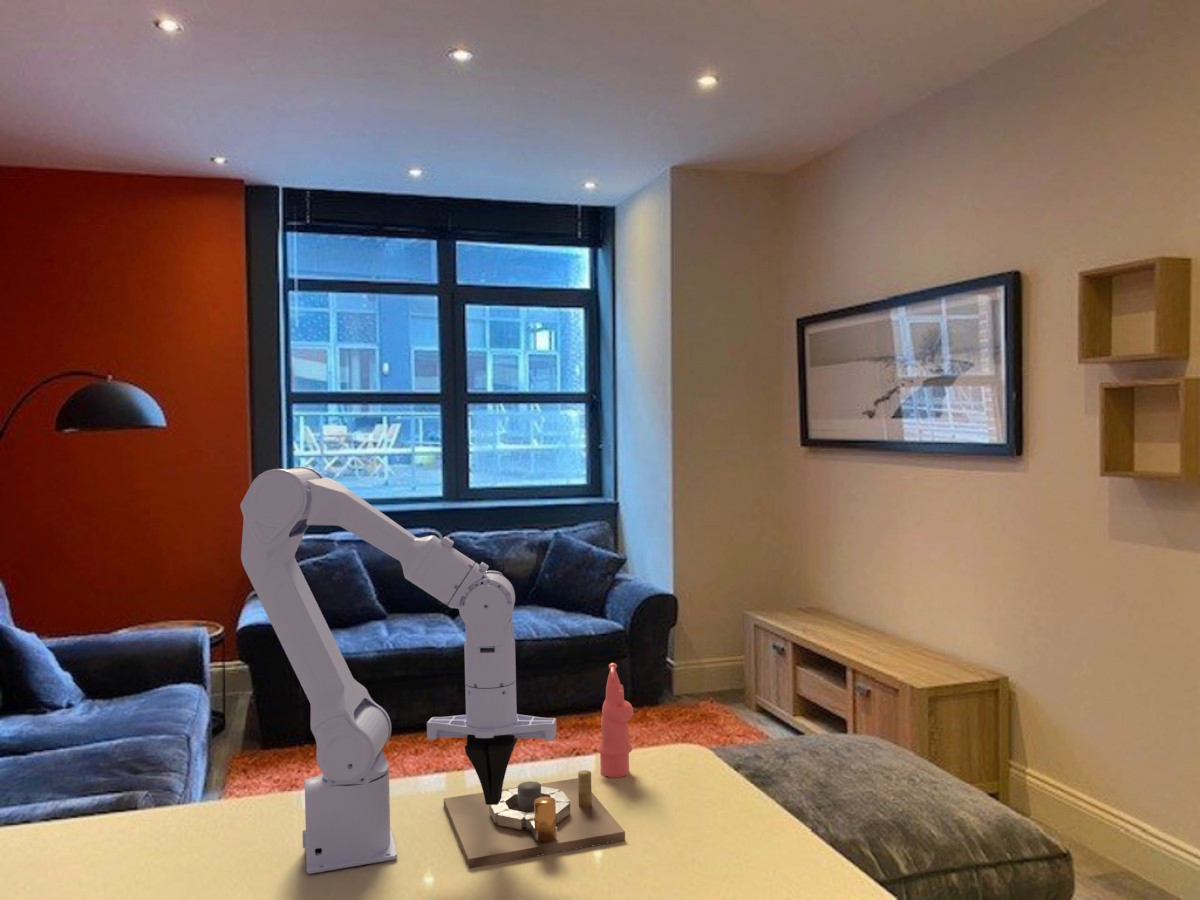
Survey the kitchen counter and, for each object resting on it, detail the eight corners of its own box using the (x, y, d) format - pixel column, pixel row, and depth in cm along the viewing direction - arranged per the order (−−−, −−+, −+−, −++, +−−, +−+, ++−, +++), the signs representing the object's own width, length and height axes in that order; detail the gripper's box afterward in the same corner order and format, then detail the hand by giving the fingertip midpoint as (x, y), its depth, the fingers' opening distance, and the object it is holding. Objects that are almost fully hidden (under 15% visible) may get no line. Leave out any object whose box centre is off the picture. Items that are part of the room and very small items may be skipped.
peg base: (468, 868, 94) (467, 822, 94) (443, 806, 110) (442, 766, 110) (625, 840, 100) (624, 796, 100) (579, 785, 116) (579, 747, 116)
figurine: (634, 779, 118) (632, 668, 117) (596, 779, 118) (594, 669, 117) (633, 765, 123) (632, 658, 122) (597, 765, 123) (595, 659, 123)
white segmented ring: (484, 802, 108) (483, 770, 108) (555, 791, 111) (555, 760, 111) (507, 847, 96) (507, 811, 96) (587, 834, 99) (586, 798, 99)
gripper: (417, 691, 95) (420, 815, 96) (548, 692, 94) (551, 817, 94) (435, 674, 102) (438, 789, 103) (558, 674, 101) (561, 791, 101)
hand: (493, 801), depth 99 cm, fingers closed
